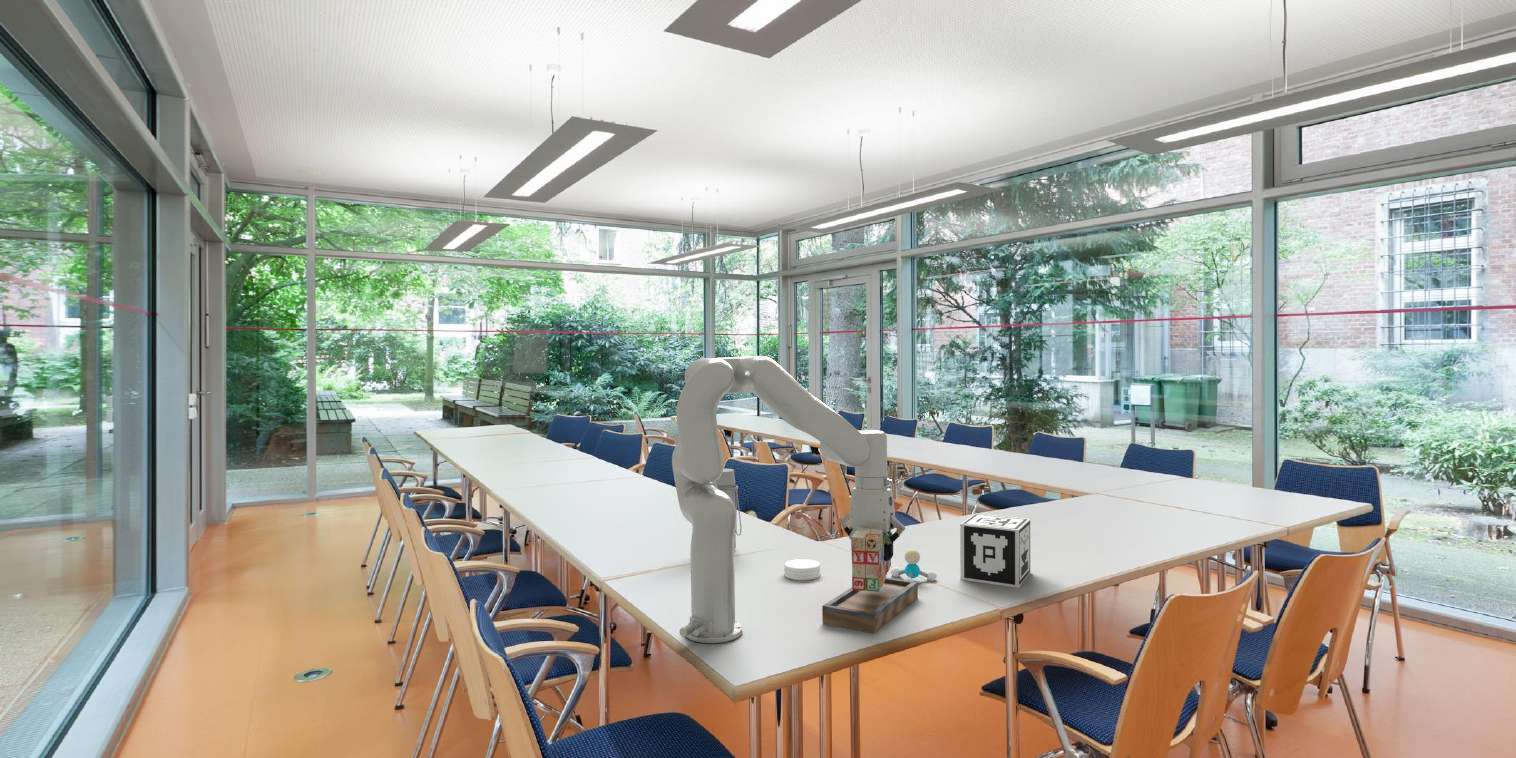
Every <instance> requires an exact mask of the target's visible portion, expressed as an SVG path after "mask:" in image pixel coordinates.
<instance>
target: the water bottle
mask: <svg viewBox="0 0 1516 758" xmlns="http://www.w3.org/2000/svg"><path fill="white" fill-rule="evenodd" d="M735 477H736V476H735V469H732V468H723V472H722V474H721V476H720V477H719V479H718V480H716V484H717V489H719V490H721V491H723V492H724V493H726V494H727V495H728V496H729V497H730V498H731V499H732V501H733V503H734V505H735V508H736V513H737V511H738V513H737V514H738V519H739V527H740V528H739V529H740V530H739V534H738V531H737V525H738V523H737V522H736V530H735V539H734V551H735V550H736V545H737V542H736V540H737V536H741V535H742V534H741V533H742V520H741V513H740V512H741V511H740V503H739V502H740V501H739V495H738V489H739V486H738V485H737V484H736V478H735Z"/></svg>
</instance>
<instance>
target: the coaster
mask: <svg viewBox="0 0 1516 758" xmlns="http://www.w3.org/2000/svg"><path fill="white" fill-rule="evenodd" d="M783 567H784V570H783V571H784V573H783V575H784V577H786V578H787V579H789V580H794V581H812V579H813V580H816V579H818V578H820V577H821V563H820V562H819V561H817V560H814V559H806V558H798V559H790V560H788V561H786V562H784V565H783Z"/></svg>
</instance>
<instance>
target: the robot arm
mask: <svg viewBox="0 0 1516 758" xmlns="http://www.w3.org/2000/svg"><path fill="white" fill-rule="evenodd" d="M684 372H685V373H684V382H685V384H684V386H683V388H682V389H681V392H680V395H679V397H678V400H677V404H676V424H677V425H676V426H677V430H678V432H677V433H678V440H679V442H678V443H677V444H676V445H675V447H674V449H673V451H672V455H671V466H672V467H671V468H672V472H673V480H674V485H675V489H676V490H675V491H676V497H677V501H678V505H679V508H680V512H681V514H682V516H683V518H684V519H686V521H688V522H689V523H690V524H691V525H692V531H691V538H690V539H691V540H690V553H689V554H690V555H689V556H690V596H691V597H690V600H691V601H690V603H691V604H690V605H691V613H690V614H691V616H689V622H688V624H687V625H684V626H683V627H680V629H679V632H678V633H679V635H680V636H681V637H682V638H685V637H686V638H687V639H689V640H691V641H693V642H696V643H697V642H698V643H703V644H718V643H719V644H720V643H727V642H730V641H733V640H736V639H737V638H740V636H741V635H742V634H743V625H742V624H741V623H740V622H738V621H736V598H735V597H736V595H735V593H736V591H735V590H736V586H735V585H736V583H735V576H736V575H735V572H736V571H735V570H736V569H735V550H734V539H735V530H736V522H737V521H738V518H737V516H738V515H737V514H738V513H736V504H735V505H734V503H733V501H732V499H731V498H730V497H729V496H728V495H727V494H726V493H724V492H723V491H721V490H719V489H717V484H716V480H718V479H719V477H720V476H721V474H722V472H723V469H725V468H724V466H725V461H724V455H723V452H722V446H721V440H720V435H719V429H718V421H717V420H718V419H717V412H718V411H717V410H718V407H719V404H720V403H721V401H722V399H723V398H724V397H725V395H731V394H745V393H746V394H747V393H751V394H754V395H755V396H756V397H757V398H759V400H761V401H762V402H763V403H764V404H766V405H767V406H768V407H769V408H770V409H771V410H772V411H773V412H774V413H775V414H777V415H778V417H780V418H781V419H782V420H783V421H784V422H785V423H787V424H788V425H790V426H791V427H793V428H794V429H796V430H799V431H802V432H803V433H806V434H807V435H810V436H812V437H813V438H814V439H816V440H818V441H819V450H820V453H821V455H822V456H823V458H824V459H826V460H828V461H829V462H832V463H836V464H839V465H843V466H846V467H851V468H854V480H855V481H854V484H855V486H854V487H853V488H852V491H851V496H850V504H849V513H848V514H846V515H845V516H844V517H842V518H841V519H840V520H839V524H840V526H841V527H842V529H843V531H844V532H845V533H846V535H847V536H848V538H849V540H850V541H851V542H850V543H851V545H850V546H851V548H850V549H851V552H852V536H853V534H854V533H855V532H856V530H857V529H858V527H861V528H869V529H877V530H883V535H884V539H885V541H886V544H884V560H885V561H888V560H890V559H891V560H892V558H893V557H894V542H895V541H896V540H898V538H900V536H901V535H902V534H903V533H904V531H905V530H906V526H905V525H904V524H903V523H902V522H901V521H900V520H899V519H898V518H896V512H895V511H896V510H895V503H894V498H893V497H894V496H893V491H892V489H891V488H888V487H889V486H893V485H894V480H893V479H890V478H889V475H888V436H887V434H886V432H884V431H883V430H878V429H864V430H858V429H857V428H856V427H855V426H853V424H851V423H850V422H849V420H847V419H846V418H844V416H842V415H840V413H838V412H836V411H835V410H834V409H832V408H831V407H829V406H828V405H827V404H825V403H824V402H823V401H821V400H820V399H818V398H817V397H815V396H814V395H813V394H812V393H810V392H809V391H808V390H807V389H806V388H805V387H804V386H802V384H800V383H799V382H798V381H797V379H796V378H794V377H793V376H792V375H791V374H790V372H788V371H787V370H785V369H784V368H783V367H782V366H781V365H780V364H779V363H778V362H776V360H775V359H773V358H770V357H769V356H765V355H748V356H747V355H746V356H737V357H707V358H705V357H703V358H697V359H694V360H693V361H692V362H691V363H690V364H688V366H687V367H686V369H685V371H684ZM895 528H896V530H895V532H892V530H894V529H895Z"/></svg>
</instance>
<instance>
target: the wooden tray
mask: <svg viewBox="0 0 1516 758" xmlns="http://www.w3.org/2000/svg"><path fill="white" fill-rule="evenodd" d="M913 581H914V580H913ZM913 581H907V580H904V579H900V578H895V577H894V578H892V577H887V576H886V578H885V581H884V583H883V586H882V587H881V589H880V591H879V592H874V591H860V590H852V586H851V587H850V588H848V589H847V590H845V591H844V592H842V593H840V594H839V595H837V596H835V597H834V598H833V599H830V600H829V601H828V602H826V603H825V604H823V605H822V606H821V608H822V609H821V612H822V619H821V620H822V624H823V625H830V626H834V627H840V628H844V629H850V630H854V631H860V632H864V633H870V634H875V633H876V632H877V631H879V630H880V629H882V628H883V627H884V626H885V625H886V624H887V623H889V622H890V621H891V620H893V619H894V617H896V616H897V615H899V614H900V613H901V612H902V611H904V609H906V608H907V607H909V606H910V605H911V604H912V603H914V602H915V601H916V600H917V599H918V597H919V594H918V593H919V592H918V588H919V586H918V585H919V584H918V583H919V582H918V581H914V582H913Z"/></svg>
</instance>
